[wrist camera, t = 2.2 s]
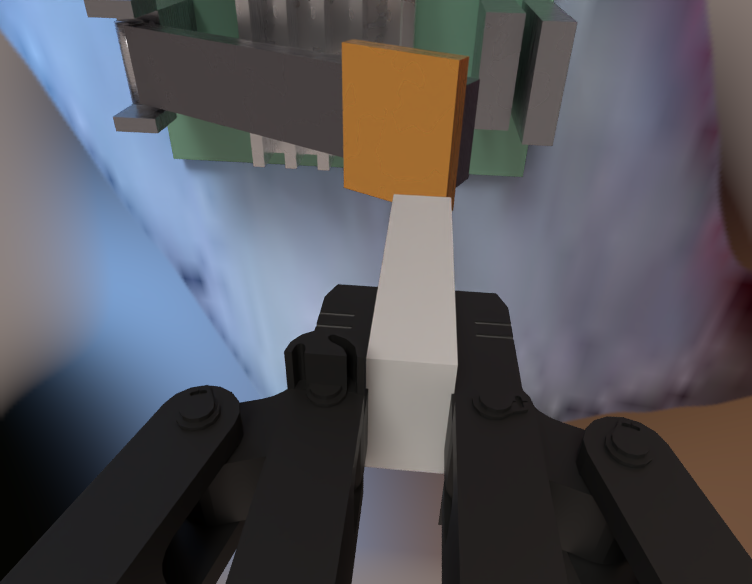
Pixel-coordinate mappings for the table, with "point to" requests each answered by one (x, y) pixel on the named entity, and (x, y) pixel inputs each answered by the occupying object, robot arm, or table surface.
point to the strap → (319, 101)
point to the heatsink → (320, 43)
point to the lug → (521, 66)
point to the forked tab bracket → (154, 6)
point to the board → (220, 143)
